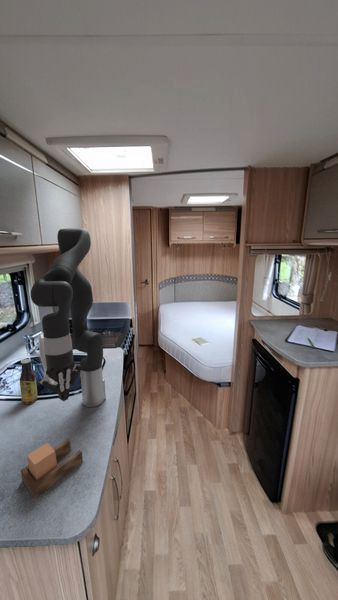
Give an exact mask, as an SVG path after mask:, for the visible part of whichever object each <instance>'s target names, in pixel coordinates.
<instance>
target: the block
mask: <svg viewBox="0 0 338 600" xmlns="http://www.w3.org/2000/svg"><path fill="white" fill-rule="evenodd" d="M26 458H27V466H29V472H30V475H31V476H32V477H33V479H34V480H35V481H37V480H39V479H40V478H42V477H43V476H44V475H46V474H47V473H49V472H50V471H51V470H53V469H54V468H55V467H57V466H58V464H57V463H58V462H57V461H56V454H55V450H54V447H52V446H51V445H50V444H49V443H48V442H46V443H44V444H42V445H41V446H39V447H38V448H36V449H35V450H33V451H31V452H30V453H28V454H26Z"/></svg>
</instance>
